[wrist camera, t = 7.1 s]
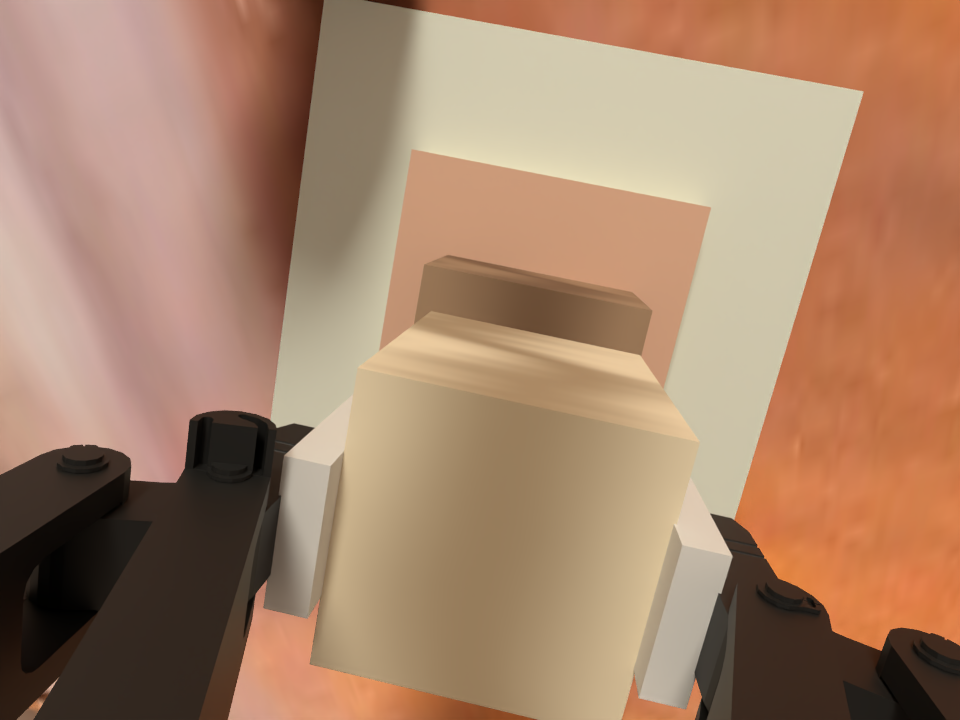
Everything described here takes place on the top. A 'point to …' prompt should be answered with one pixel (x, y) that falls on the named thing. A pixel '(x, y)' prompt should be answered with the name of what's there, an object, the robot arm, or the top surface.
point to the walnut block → (534, 303)
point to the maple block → (502, 519)
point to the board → (559, 203)
